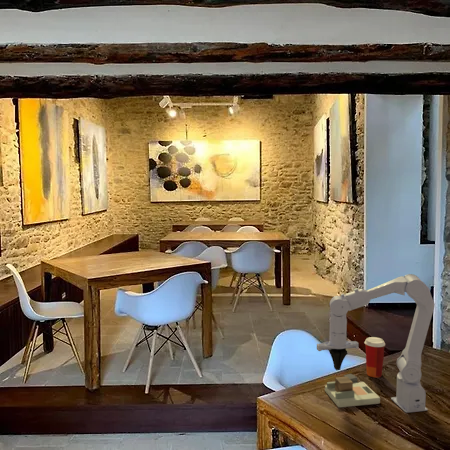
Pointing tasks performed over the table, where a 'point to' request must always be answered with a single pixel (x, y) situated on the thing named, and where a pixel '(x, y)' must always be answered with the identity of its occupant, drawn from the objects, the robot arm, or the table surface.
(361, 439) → the table surface
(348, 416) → the table surface
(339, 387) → the walnut block
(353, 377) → the charcoal block
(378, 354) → the paper cup
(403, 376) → the robot arm
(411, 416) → the table surface
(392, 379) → the table surface
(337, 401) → the board
